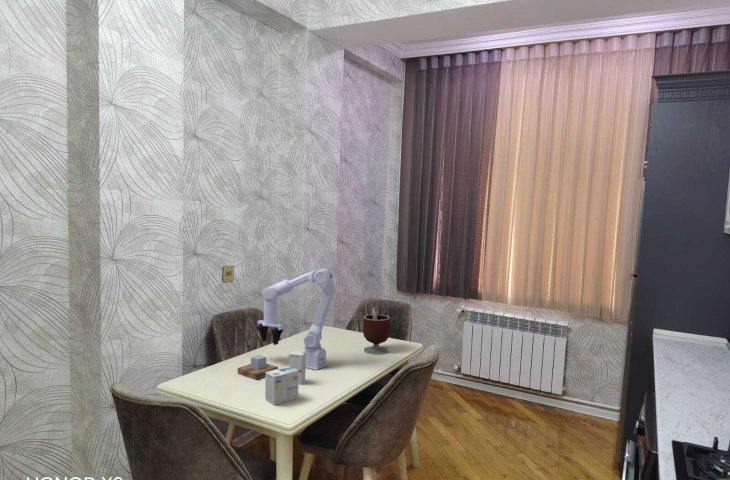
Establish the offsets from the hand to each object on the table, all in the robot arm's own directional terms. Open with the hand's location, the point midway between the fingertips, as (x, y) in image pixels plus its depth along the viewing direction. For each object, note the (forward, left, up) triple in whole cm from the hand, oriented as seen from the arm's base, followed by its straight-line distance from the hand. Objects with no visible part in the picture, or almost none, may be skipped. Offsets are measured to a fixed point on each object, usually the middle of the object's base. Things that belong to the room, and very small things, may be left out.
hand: (269, 342), depth 215 cm
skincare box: (-26, +9, -10) cm, 29 cm away
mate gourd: (-25, -48, -10) cm, 55 cm away
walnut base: (-6, +12, -10) cm, 17 cm away
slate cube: (-6, +12, -7) cm, 15 cm away
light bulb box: (-34, +25, -10) cm, 43 cm away
